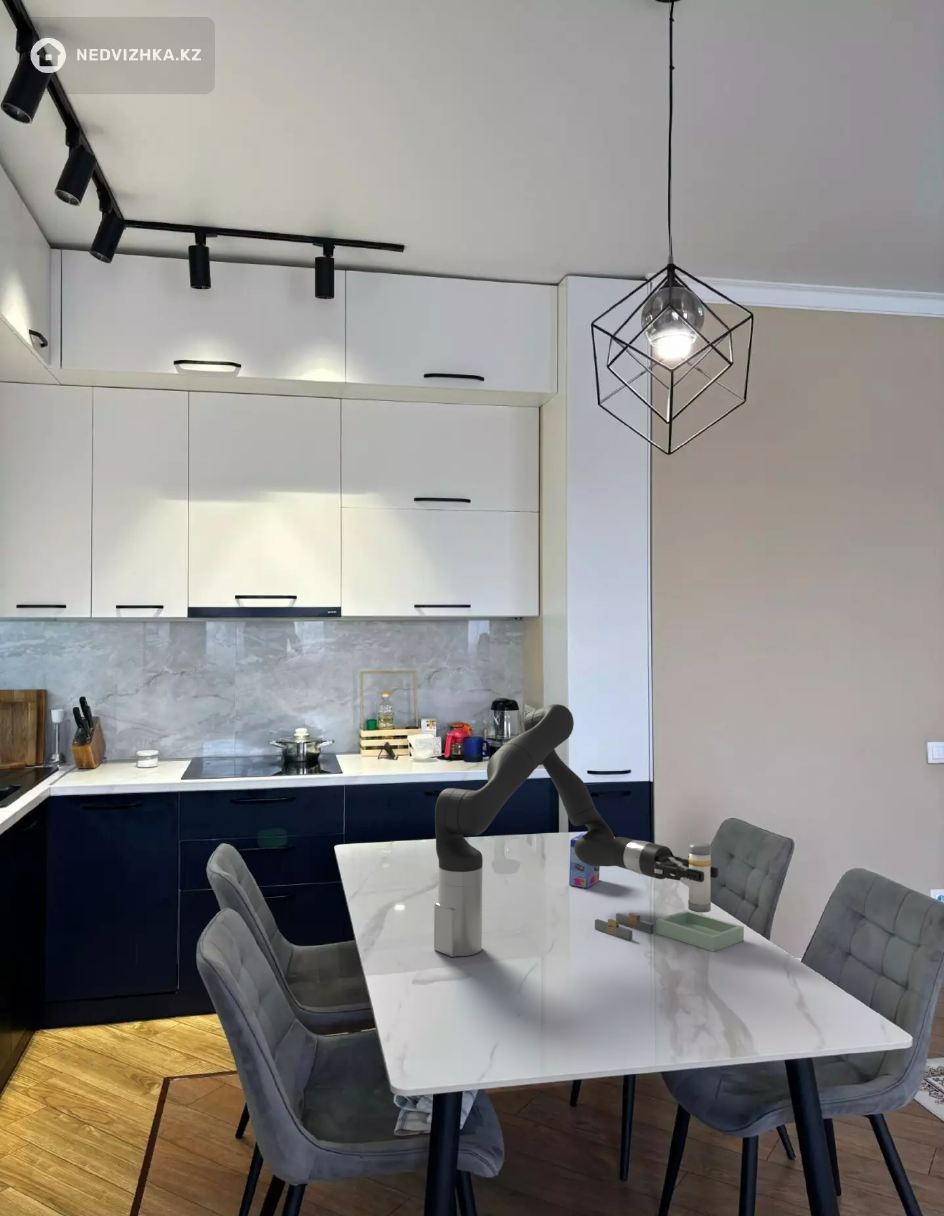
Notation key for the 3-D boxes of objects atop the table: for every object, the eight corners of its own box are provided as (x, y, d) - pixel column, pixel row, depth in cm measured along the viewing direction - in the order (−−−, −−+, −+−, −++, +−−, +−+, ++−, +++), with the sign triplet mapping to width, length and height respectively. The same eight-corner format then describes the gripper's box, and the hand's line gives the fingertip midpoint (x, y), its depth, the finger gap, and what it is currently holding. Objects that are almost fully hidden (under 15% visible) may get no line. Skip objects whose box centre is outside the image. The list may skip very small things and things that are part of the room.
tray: (713, 951, 191) (713, 937, 191) (656, 933, 202) (656, 919, 203) (743, 940, 198) (743, 926, 198) (686, 923, 210) (686, 910, 210)
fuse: (702, 914, 197) (702, 849, 198) (683, 908, 201) (684, 844, 201) (715, 909, 200) (715, 845, 201) (696, 904, 204) (697, 841, 204)
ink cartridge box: (588, 889, 237) (588, 833, 237) (568, 886, 239) (568, 830, 240) (601, 880, 245) (601, 826, 246) (581, 877, 248) (582, 823, 248)
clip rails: (629, 941, 197) (629, 927, 197) (594, 929, 205) (594, 915, 205) (653, 933, 203) (653, 919, 203) (618, 921, 210) (618, 908, 210)
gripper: (628, 847, 207) (690, 863, 194) (667, 838, 216) (729, 852, 203) (627, 880, 207) (690, 898, 194) (667, 870, 216) (729, 886, 203)
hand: (710, 875), depth 199 cm, fingers closed on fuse, 4 cm apart
